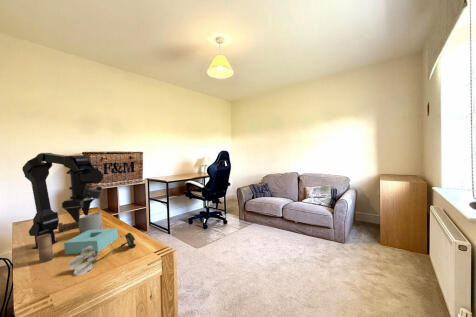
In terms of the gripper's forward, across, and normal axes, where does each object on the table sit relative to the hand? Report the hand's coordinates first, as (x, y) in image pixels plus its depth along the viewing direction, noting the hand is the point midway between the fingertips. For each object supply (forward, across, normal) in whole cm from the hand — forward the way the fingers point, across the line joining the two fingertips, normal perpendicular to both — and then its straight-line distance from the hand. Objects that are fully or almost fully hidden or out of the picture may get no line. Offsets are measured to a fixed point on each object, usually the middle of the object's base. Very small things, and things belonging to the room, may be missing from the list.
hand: (82, 218), depth 90 cm
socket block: (+13, 0, -3) cm, 14 cm away
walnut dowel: (+13, -7, +10) cm, 18 cm away
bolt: (+14, +34, +16) cm, 41 cm away
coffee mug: (+14, +21, +5) cm, 25 cm away
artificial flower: (+13, -17, -14) cm, 25 cm away
